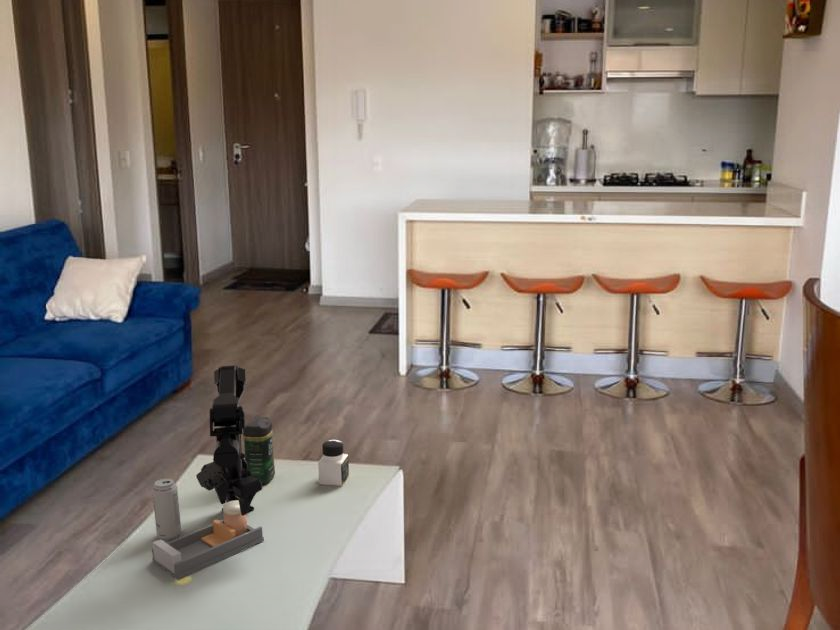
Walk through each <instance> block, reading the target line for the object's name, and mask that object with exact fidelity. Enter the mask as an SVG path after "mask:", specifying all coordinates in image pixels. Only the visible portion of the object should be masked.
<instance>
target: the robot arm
mask: <svg viewBox="0 0 840 630" xmlns="http://www.w3.org/2000/svg"><path fill="white" fill-rule="evenodd" d="M247 379H248V377H247V371H246V369H245V368H241V367H238V365H235V364H232V365H230V364H229V365H220V367H219V366H218V369H216V370H214V371H213V381H214V383H213V384H214V386H215V388H217V392H218V396H217V397H216V398H214V399H213V400H212V405H211V407H210V408H209V437H210V438H211V437H215V445H214V449H213V450H214V451H213V457H212V460H213V461H212V462H209V463H206V464H203V466H202V467H201V468H200V471H199V472H198V473H197V474H196V475H195V476H196V479H197V481H198V484H199V485H200V487H201V488H204V489H205V490H207V491H212V490H215V493H216V494H217V498H218V500H219V503H220V504H221V505H224V504H225V503H227V502H230V501H235V500H239V505H240V511H241V515H242V516H244V515H247V513H249V512H251V511H255V506H253V505H251V504H252V502H253V499H254V497H255V496H256V494H257V493H259V492H260V491H263V484H262V481H260V480H259V479H257V478H255V477H254V475H253V474H252V472H251V470H248V463H247V462H246V460H245V453H243V452H242V450H243V447H242V435H243V429H245V424H246V415H245V414H246V413H245V409H244V408H243V406H242V405H240V404H241V403H240V402H241V399H242V397H243V396H244V394H245V393H246V392H245V386H246V385H248V384H247V383H248V381H247ZM221 511H222V512H223V507H222V508H221Z"/></svg>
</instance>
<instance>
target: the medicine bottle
mask: <svg viewBox="0 0 840 630" xmlns="http://www.w3.org/2000/svg"><path fill="white" fill-rule="evenodd" d="M317 465H318V468H317V469H318V483H319V485H324V486H325V485H326V486H339V487H343V486H344V485H345V483H346V481H347V480H348V478H349V477H350V467H349V454H347V453H344V443H343V441H341V440H337V439H330V440H327V441H324V442H323V443H322V457H321V458H320V459H319V460H318V462H317Z"/></svg>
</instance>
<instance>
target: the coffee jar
mask: <svg viewBox="0 0 840 630" xmlns="http://www.w3.org/2000/svg"><path fill="white" fill-rule="evenodd" d="M273 429H274V428H273V421H272V420H271V419H270V418H269V417H267V416H254V417H253V418H251V419H249V420H247V422H245V429H243V434H242V438H243V443H244V445H243V446H244V448H243V449H244V454H245V458H244V459H245V460H246V462H247V463H248V470H251V472H252V474H253V475H254V477H255V478H257V479H259V480H260V481H262V485H264V484H269V483H270V482H271V481H272V480H273V478H274V476H275V474H276V469H275V467H276V466H275V457H274V456H275V455H274V442H273V440H274V439H273V436H274V435H273V433H274V432H273Z"/></svg>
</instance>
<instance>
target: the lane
mask: <svg viewBox="0 0 840 630" xmlns="http://www.w3.org/2000/svg"><path fill="white" fill-rule="evenodd" d="M219 521H220V522H222V523H224V518H223V519H220V520H219ZM247 530H248V532H246V533H244V534H242V535H239V536H237V537H235V538H233V539H230V540H228V541H226V542H223V543H221V544H219V545H216V546H214V547H211V546H210V545H208V544H207V543H205V542H204V541H202V540H201V538H203V537H205V536H208V535H210V534H212V533H214V531H213V523H212V524H209V525H207V526H203V527H202V528H201V527H200V528H199V529H197V530H194V531H192V532H189V533H187V534H185V535H182V536H180V537H178V538H176V539H174V540H171V541H162V540H161V539H160V538H159V539H158V540H155V541H153V542H152V546H153V547H152V549H151V550H152V552H151V553H152V557H151V560H152V561H151V562H153V563H154V564H155V565H157V566H159V567H160V568H161V569H162V570H164V571H165V572H167V573H168V574H169V575H171V576H172V577H173V578H175V579H176V580H180V579H183V578H185V577H186V576H187V577H188V576H190V575H191V574H194V573H196V572H199V571H200V570H202V569H205V568H207V567H210V566H212V565H214V564H216V563H218V562H220V561H223V560H225V559H227V558H229V557H231V556H233V555H236V554H238V553H240V552H242V550H243V551H245V550H247V549H249V548H251V547H253V545H254V546H256V545H257V543H258V544H260V543H262V541H263V542H264V541H265V538H264V536H263V527H261V526H258V527H256V528H254V527H252V526H251V525H249V524H247ZM255 544H256V545H255ZM250 546H251V547H250ZM246 548H247V549H246ZM244 549H245V550H244Z"/></svg>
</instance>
